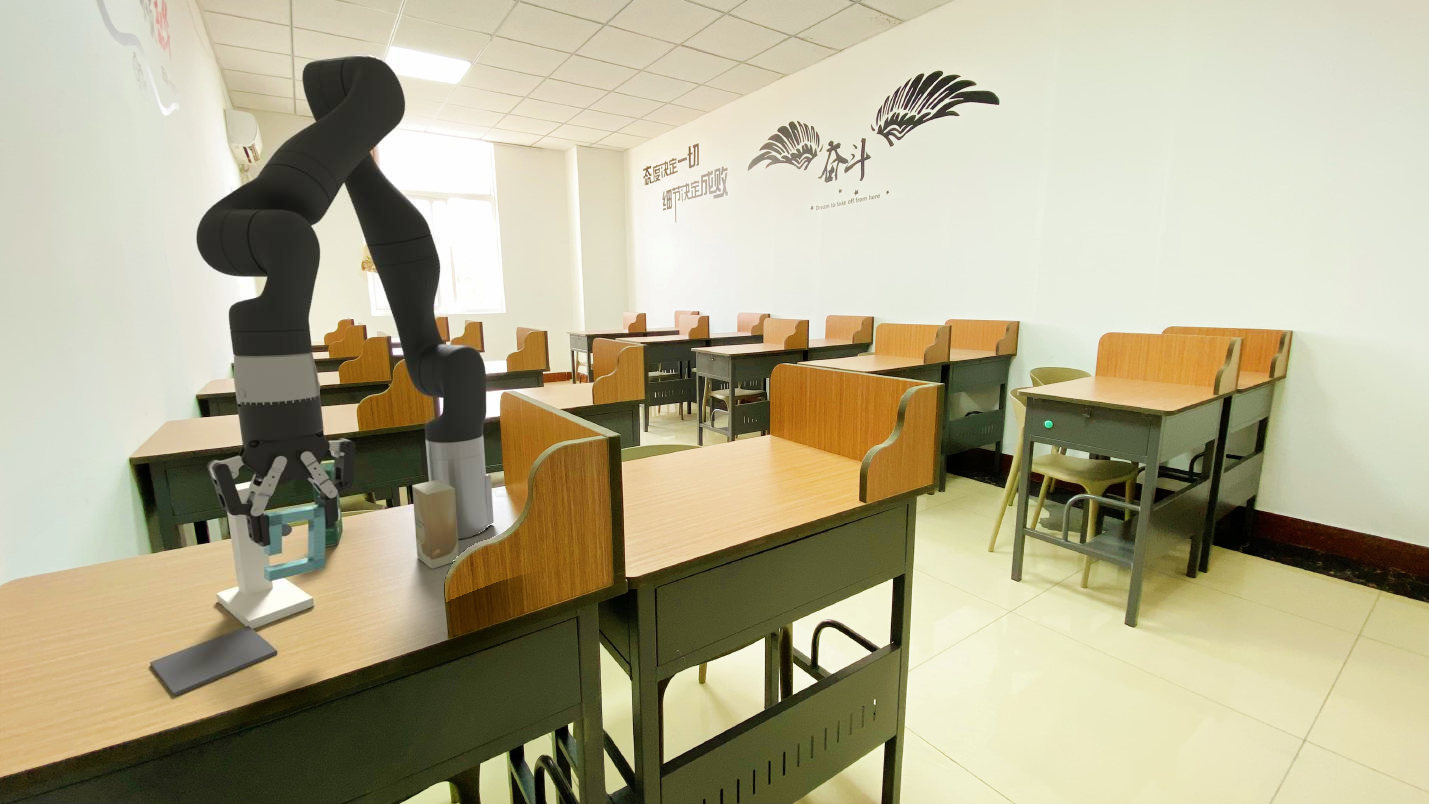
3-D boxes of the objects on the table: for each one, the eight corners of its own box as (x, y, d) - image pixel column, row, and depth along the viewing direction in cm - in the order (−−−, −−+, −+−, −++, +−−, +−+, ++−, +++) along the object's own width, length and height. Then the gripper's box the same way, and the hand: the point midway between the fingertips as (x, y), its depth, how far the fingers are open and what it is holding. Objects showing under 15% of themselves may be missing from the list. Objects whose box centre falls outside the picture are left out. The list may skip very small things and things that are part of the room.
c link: (319, 564, 70) (319, 504, 70) (325, 567, 70) (325, 506, 69) (264, 577, 66) (263, 513, 65) (269, 581, 65) (269, 516, 64)
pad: (248, 628, 72) (248, 625, 72) (277, 653, 67) (276, 650, 67) (150, 665, 64) (150, 661, 64) (174, 696, 59) (173, 692, 59)
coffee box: (324, 531, 102) (316, 460, 100) (343, 528, 103) (336, 458, 101) (318, 548, 95) (309, 472, 93) (338, 545, 96) (330, 469, 94)
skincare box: (416, 557, 92) (409, 484, 90) (443, 549, 95) (438, 478, 93) (432, 570, 88) (426, 493, 86) (460, 561, 91) (455, 487, 89)
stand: (278, 581, 84) (264, 476, 81) (328, 616, 75) (315, 498, 72) (217, 601, 78) (200, 488, 75) (264, 641, 69) (246, 515, 66)
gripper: (335, 384, 72) (348, 511, 75) (185, 399, 61) (207, 548, 64) (363, 389, 68) (376, 523, 71) (207, 406, 57) (231, 566, 59)
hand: (296, 534), depth 67 cm, fingers closed on c link, 6 cm apart
